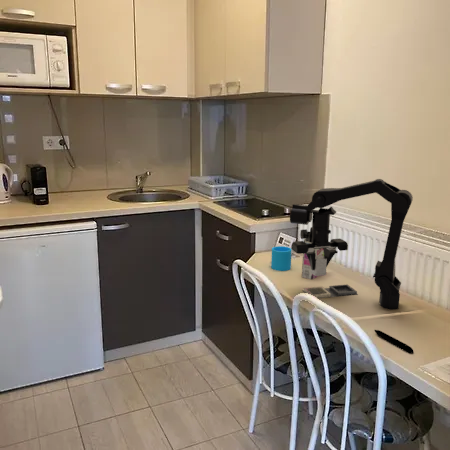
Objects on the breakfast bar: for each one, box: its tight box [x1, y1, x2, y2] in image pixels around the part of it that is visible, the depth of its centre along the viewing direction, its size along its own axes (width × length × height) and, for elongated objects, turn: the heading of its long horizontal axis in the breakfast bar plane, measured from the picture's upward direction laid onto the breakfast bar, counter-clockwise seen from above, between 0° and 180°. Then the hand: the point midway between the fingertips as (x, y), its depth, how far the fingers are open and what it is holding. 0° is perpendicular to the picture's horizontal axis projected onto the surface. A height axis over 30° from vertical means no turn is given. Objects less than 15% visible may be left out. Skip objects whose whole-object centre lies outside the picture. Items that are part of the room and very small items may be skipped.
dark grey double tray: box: [301, 283, 359, 299], centre depth 165 cm, size 8×18×2 cm, turn 103°
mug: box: [270, 245, 293, 272], centre depth 195 cm, size 12×8×8 cm
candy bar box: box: [301, 239, 324, 280], centre depth 182 cm, size 11×5×16 cm, turn 145°
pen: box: [374, 329, 414, 354], centre depth 131 cm, size 2×14×2 cm, turn 29°
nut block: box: [311, 255, 327, 277], centre depth 162 cm, size 4×4×6 cm
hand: (318, 269), depth 162 cm, fingers closed on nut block, 4 cm apart
